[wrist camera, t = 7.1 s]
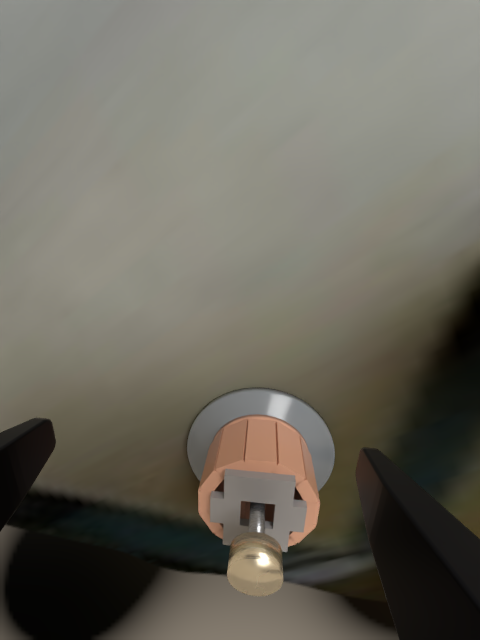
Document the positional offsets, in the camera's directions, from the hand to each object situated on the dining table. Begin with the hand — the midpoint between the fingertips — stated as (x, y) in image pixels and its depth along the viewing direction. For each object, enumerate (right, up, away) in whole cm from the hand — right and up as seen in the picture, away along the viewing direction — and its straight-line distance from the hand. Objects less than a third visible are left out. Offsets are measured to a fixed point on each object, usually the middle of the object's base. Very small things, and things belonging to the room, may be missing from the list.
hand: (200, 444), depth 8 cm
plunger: (+3, -8, +15) cm, 17 cm away
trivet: (+3, -7, +16) cm, 18 cm away
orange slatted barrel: (+3, -8, +15) cm, 17 cm away
